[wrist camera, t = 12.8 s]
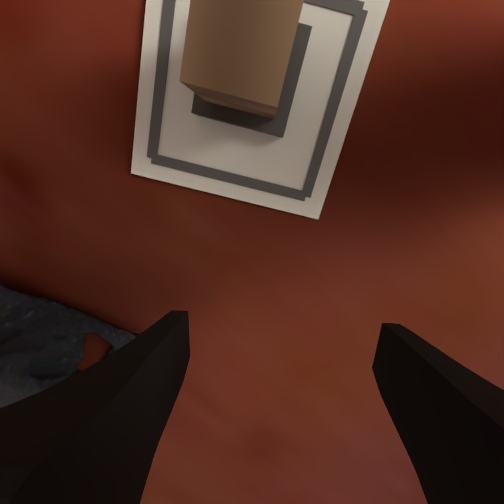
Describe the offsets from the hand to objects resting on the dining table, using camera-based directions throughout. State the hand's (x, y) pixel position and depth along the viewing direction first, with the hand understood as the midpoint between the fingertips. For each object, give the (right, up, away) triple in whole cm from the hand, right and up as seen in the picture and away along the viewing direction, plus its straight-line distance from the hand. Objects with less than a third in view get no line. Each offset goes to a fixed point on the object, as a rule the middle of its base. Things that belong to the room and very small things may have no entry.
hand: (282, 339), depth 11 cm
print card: (-1, +12, +6) cm, 14 cm away
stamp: (-1, +13, +5) cm, 14 cm away
